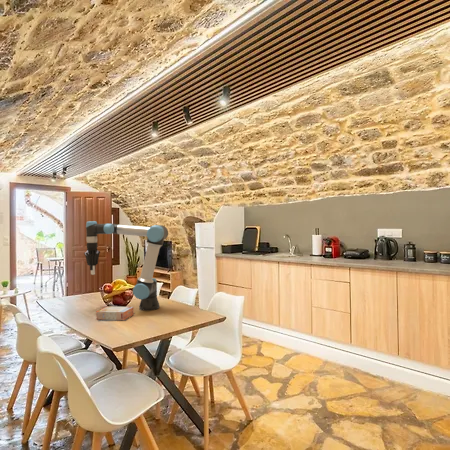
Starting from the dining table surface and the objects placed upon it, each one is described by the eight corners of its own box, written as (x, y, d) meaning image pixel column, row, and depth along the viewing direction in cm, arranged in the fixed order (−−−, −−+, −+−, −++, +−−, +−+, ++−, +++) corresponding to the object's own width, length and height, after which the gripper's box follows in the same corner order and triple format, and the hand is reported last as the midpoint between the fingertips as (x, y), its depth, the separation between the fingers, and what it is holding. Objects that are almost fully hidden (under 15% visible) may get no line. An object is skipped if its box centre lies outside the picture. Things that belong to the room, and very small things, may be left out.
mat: (135, 313, 246) (134, 312, 246) (125, 320, 226) (125, 320, 226) (109, 313, 247) (109, 313, 247) (97, 321, 227) (97, 320, 227)
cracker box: (96, 320, 230) (124, 320, 226) (95, 311, 230) (123, 311, 226) (107, 314, 244) (134, 314, 239) (106, 306, 244) (133, 306, 239)
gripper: (95, 241, 256) (96, 273, 256) (81, 242, 245) (81, 275, 245) (102, 241, 253) (103, 273, 253) (88, 242, 241) (89, 276, 241)
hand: (92, 274), depth 249 cm, fingers closed
